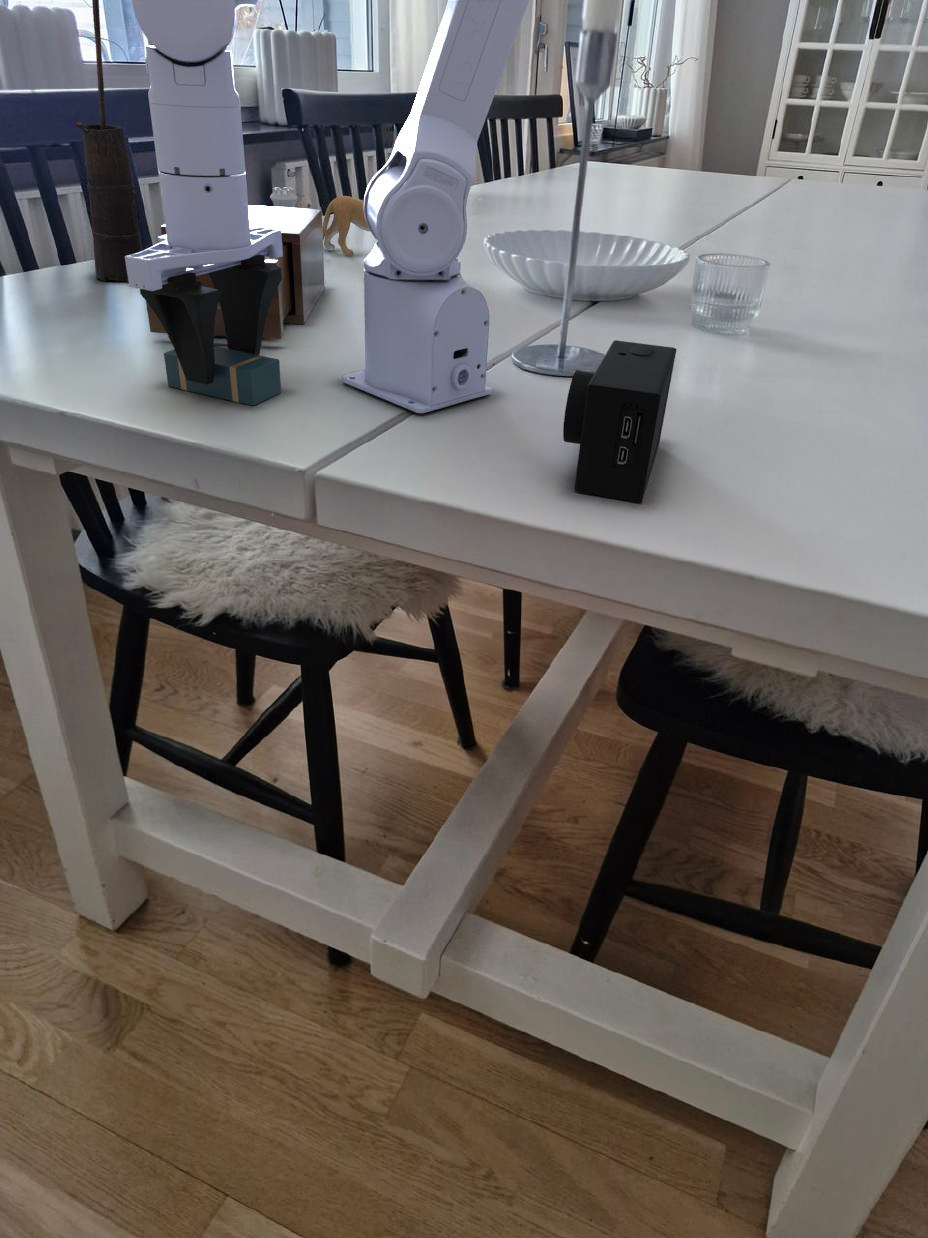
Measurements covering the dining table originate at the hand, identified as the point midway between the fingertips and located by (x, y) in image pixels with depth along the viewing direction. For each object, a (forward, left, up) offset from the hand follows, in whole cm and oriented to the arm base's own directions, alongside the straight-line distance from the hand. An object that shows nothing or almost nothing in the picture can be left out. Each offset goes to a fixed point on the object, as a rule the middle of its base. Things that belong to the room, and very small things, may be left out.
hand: (223, 371), depth 66 cm
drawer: (+13, -9, 0) cm, 16 cm away
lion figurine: (+35, -44, -2) cm, 56 cm away
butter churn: (+38, -10, -2) cm, 39 cm away
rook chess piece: (+37, -32, -2) cm, 49 cm away
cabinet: (+21, -17, -1) cm, 27 cm away
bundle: (0, 0, -1) cm, 1 cm away
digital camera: (-28, -12, -2) cm, 30 cm away
